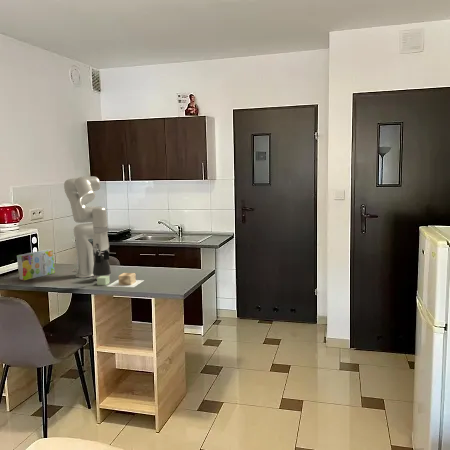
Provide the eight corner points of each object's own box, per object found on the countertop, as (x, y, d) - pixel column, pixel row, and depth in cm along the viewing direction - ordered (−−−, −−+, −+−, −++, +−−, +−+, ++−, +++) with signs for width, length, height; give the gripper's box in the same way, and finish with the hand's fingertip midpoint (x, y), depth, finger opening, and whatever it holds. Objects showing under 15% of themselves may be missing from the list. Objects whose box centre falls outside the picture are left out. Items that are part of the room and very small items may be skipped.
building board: (106, 288, 249) (106, 286, 249) (118, 281, 264) (117, 279, 264) (134, 288, 246) (134, 287, 246) (144, 282, 260) (144, 280, 260)
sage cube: (97, 286, 253) (96, 277, 252) (101, 284, 258) (101, 275, 257) (105, 287, 252) (105, 278, 251) (109, 284, 257) (109, 276, 256)
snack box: (49, 272, 292) (48, 249, 290) (55, 273, 288) (53, 249, 287) (18, 279, 275) (16, 254, 273) (23, 280, 271) (21, 255, 269)
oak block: (118, 284, 252) (118, 275, 251) (124, 281, 259) (123, 272, 258) (130, 285, 250) (130, 276, 250) (135, 281, 257) (135, 273, 257)
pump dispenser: (102, 282, 262) (101, 256, 260) (89, 280, 267) (88, 254, 265) (115, 278, 271) (114, 253, 269) (102, 276, 276) (100, 251, 274)
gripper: (101, 228, 260) (103, 258, 262) (86, 232, 243) (88, 264, 245) (113, 228, 258) (115, 258, 260) (99, 232, 242) (101, 264, 243)
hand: (102, 261), depth 253 cm, fingers open, 9 cm apart
